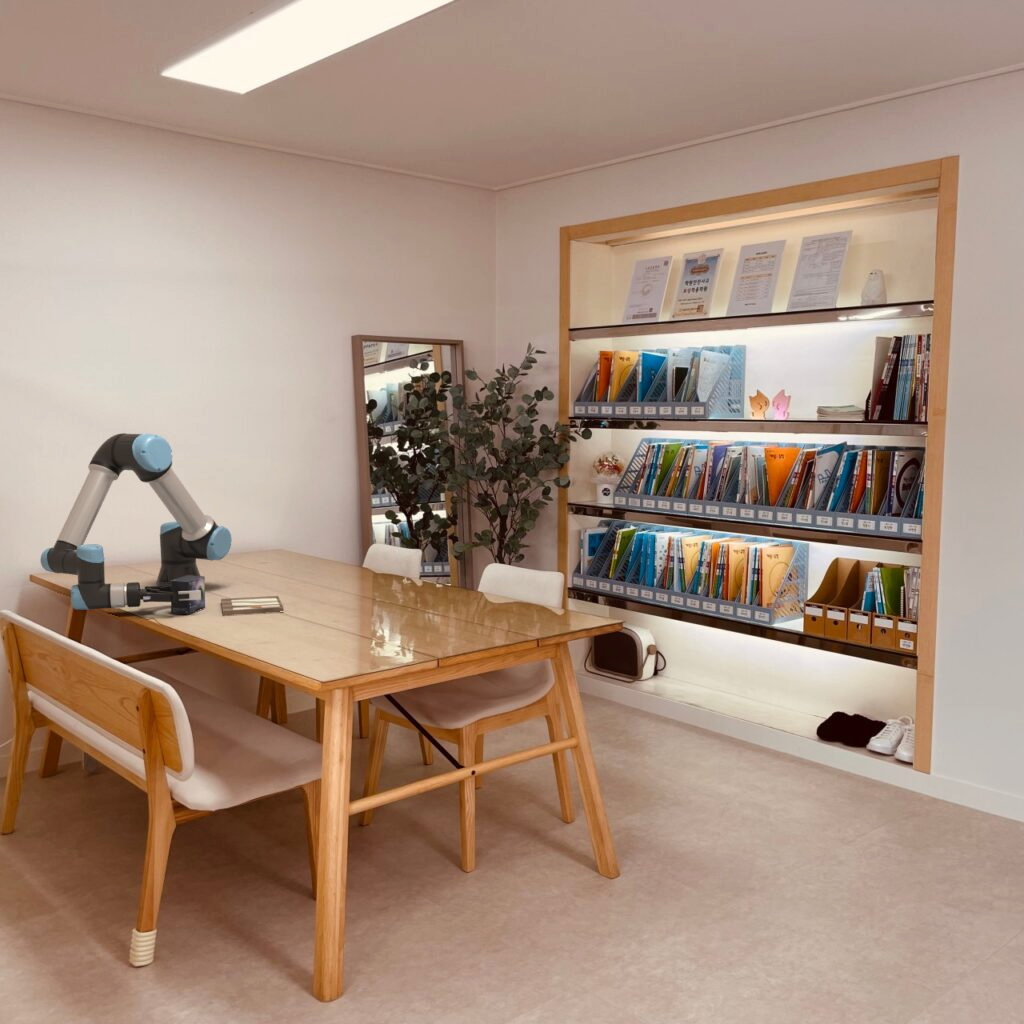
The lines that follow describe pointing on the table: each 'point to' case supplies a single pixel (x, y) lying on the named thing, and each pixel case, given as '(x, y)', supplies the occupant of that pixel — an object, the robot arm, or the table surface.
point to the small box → (188, 585)
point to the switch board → (251, 605)
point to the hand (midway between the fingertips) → (200, 591)
